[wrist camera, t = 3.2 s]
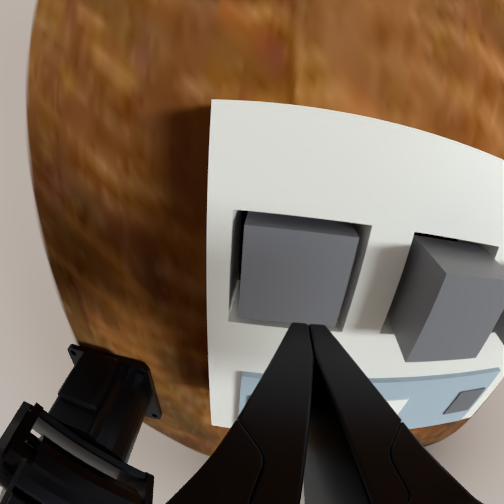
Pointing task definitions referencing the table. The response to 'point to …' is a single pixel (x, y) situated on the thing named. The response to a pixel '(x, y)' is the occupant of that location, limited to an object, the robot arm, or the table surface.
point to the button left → (295, 268)
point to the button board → (368, 250)
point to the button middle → (446, 300)
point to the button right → (500, 327)
